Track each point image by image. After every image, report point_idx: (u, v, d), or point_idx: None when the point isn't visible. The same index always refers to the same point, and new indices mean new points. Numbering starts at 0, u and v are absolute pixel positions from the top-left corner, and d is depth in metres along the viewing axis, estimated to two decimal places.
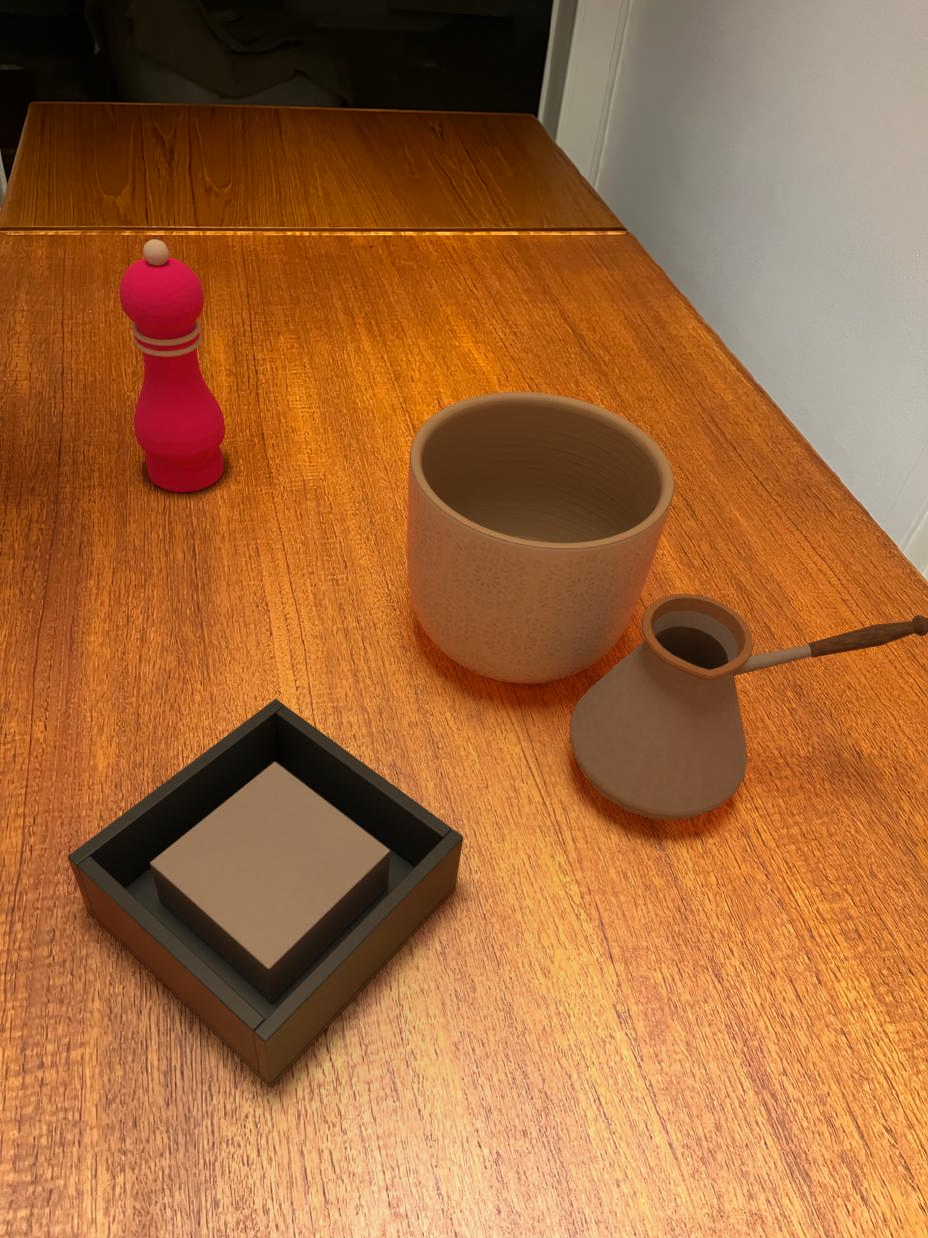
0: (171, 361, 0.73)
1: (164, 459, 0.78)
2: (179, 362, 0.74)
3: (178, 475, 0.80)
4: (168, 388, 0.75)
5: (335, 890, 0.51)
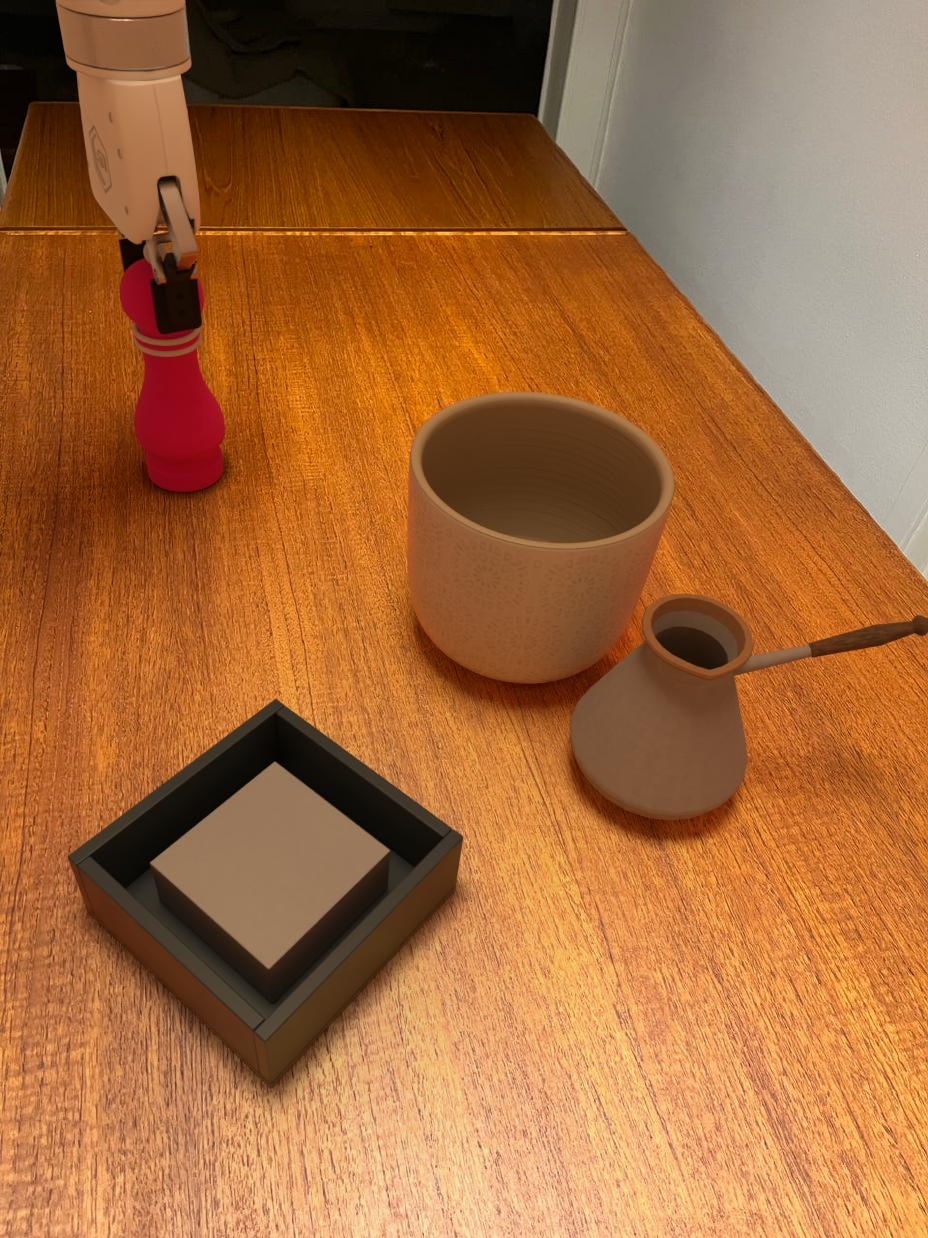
0: (171, 361, 0.73)
1: (164, 459, 0.78)
2: (179, 362, 0.74)
3: (178, 475, 0.80)
4: (168, 388, 0.75)
5: (335, 890, 0.51)
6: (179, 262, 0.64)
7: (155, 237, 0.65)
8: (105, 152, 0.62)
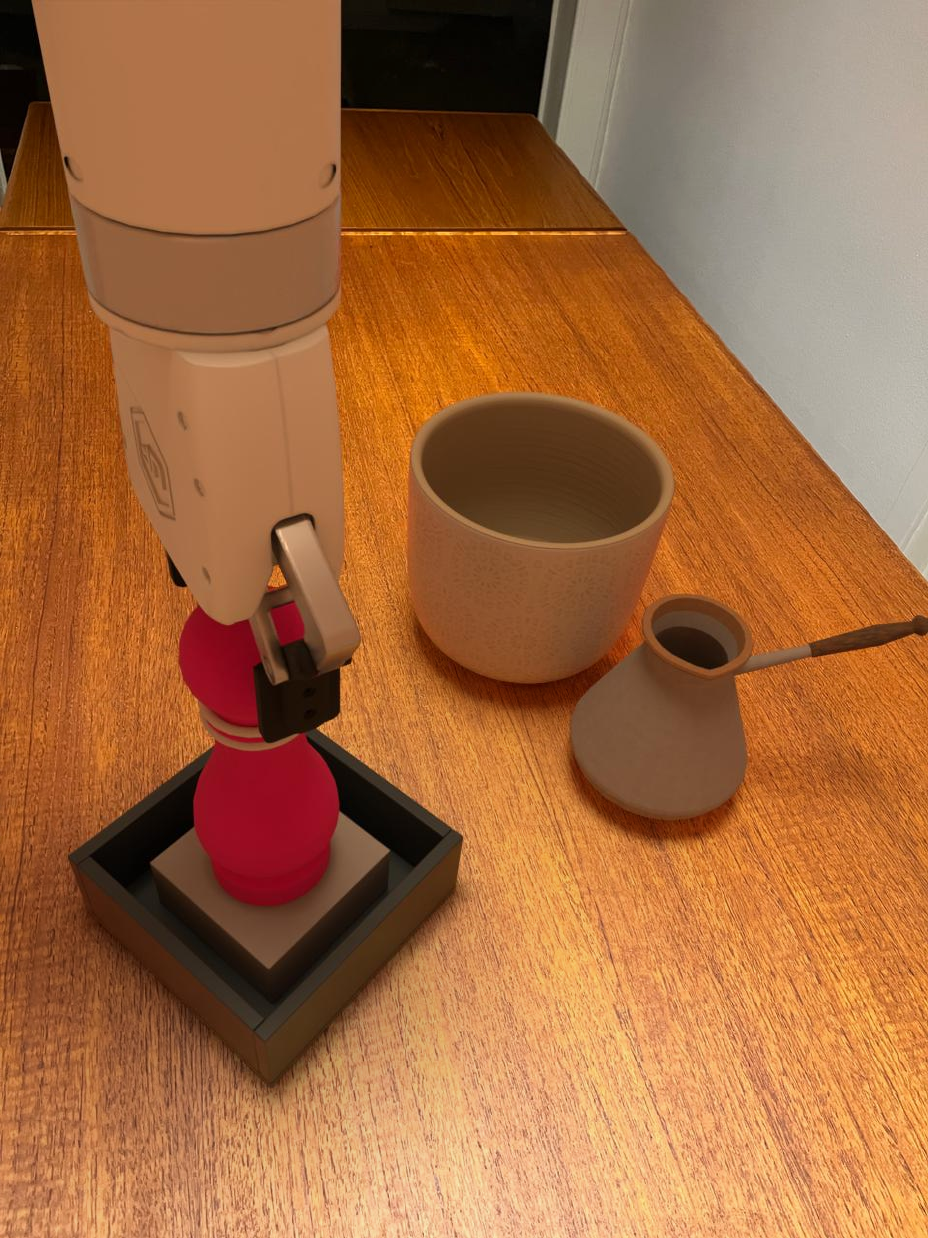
0: (264, 752, 0.43)
1: (244, 875, 0.47)
2: (278, 750, 0.43)
3: (264, 888, 0.49)
4: (256, 784, 0.44)
5: (335, 890, 0.51)
6: (323, 663, 0.31)
7: (263, 599, 0.33)
8: (165, 465, 0.31)
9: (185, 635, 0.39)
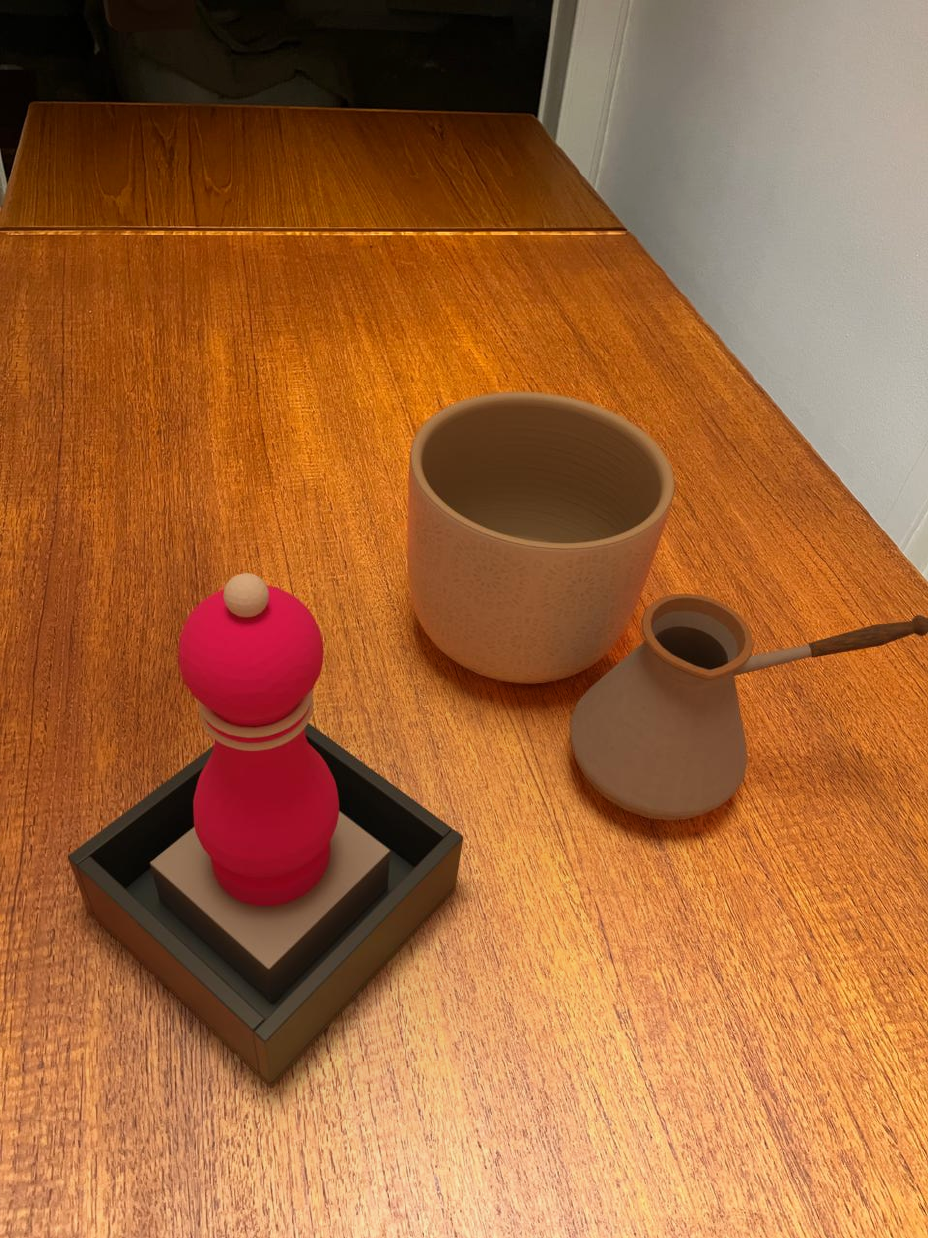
0: (264, 752, 0.43)
1: (244, 875, 0.47)
2: (277, 750, 0.43)
3: (264, 888, 0.49)
4: (256, 784, 0.44)
5: (335, 890, 0.51)
6: None
7: None
8: None
9: (185, 635, 0.39)
